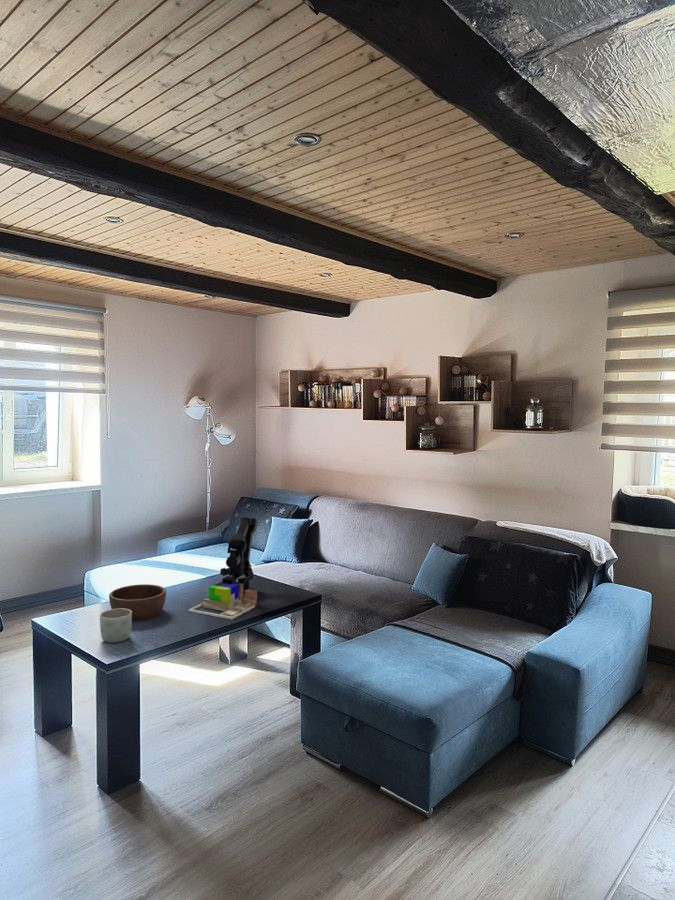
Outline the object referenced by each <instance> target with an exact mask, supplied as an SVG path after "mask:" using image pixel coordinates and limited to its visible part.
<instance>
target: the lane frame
mask: <svg viewBox="0 0 675 900" xmlns="http://www.w3.org/2000/svg"><path fill="white" fill-rule="evenodd" d="M240 604H244V603H240ZM240 604H238V605H240ZM238 605H237V606H238ZM235 607H236V606H235ZM199 608H202V607H201V603H200V604H197V605H195V606H193V607H191V608H190V609H188V613H193V614H200V615H205V616H209V615H210V616H209V617H215V618H222V619H227V620H234V619H237V618H238V617H240V616H242V615H244V614H245V613H247V612H249V611H251V610H252V609H255V608H256V605H253V606H250V607H249V608H247V609H246V610H244V611H242V612H240V613H238V614H236V615H235V616H233V617H231V616H225V615H223V613H225V612H227V611H229V610H230V609H229V610H227V611H223V612H221V613H220V614H218V613H214V612H208V611H201V610H197V609H199ZM233 608H234V607H233ZM231 609H232V608H231ZM243 613H244V614H243Z"/></svg>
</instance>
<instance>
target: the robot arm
mask: <svg viewBox="0 0 675 900" xmlns="http://www.w3.org/2000/svg"><path fill="white" fill-rule="evenodd" d="M258 526H259V520H258V519H257V518H256V517H249V516H242V517H241V518H240V523H239V525H238V528H237V530H236V533H235V534H234V535H232V537H231V538H230V539H229V541H228V547H227V550H226V551H227V552H226V553H227V554H229V556H228V557H227V558H226V560H225V564H226V566H227V568H226V567H222V568H220V571H219V574H220V575H221V576H222V577H223V578H222V579H221V582H222V583H229V584H240V583H241V584H243V593H245V590H247V589H250V590H254V589H253V587H251V580H253V579H254V576H255V575H254V571H253V568H252V565H251V562H250V559H251V558H250V557H251V556H250V555H251V552H252V551H251V550H252V543H253V535H254V534H255V532H257V528H258Z"/></svg>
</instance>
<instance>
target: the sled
mask: <svg viewBox="0 0 675 900" xmlns="http://www.w3.org/2000/svg"><path fill="white" fill-rule="evenodd" d="M240 603H243V604H245V597H244V592H243V584H241V583H240V584H239V601H237V602H235V603H233V604H231V605H229V606H227V602H222V601H216V600H210V599H209V598H203V599H202V602H201V603H200V604H201V607H200V608H206V609H211V610H217V611H223V612H225V611H227V610H229V609H231V608H233V607H235V606H237V605H238V604H240Z"/></svg>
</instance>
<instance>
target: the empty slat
mask: <svg viewBox="0 0 675 900" xmlns="http://www.w3.org/2000/svg"><path fill="white" fill-rule="evenodd" d="M244 598H245V603H243V604H240V605H238V606H236V607H234V608H232V609H230V610H229V611H227V612H225V611H224V612H225V613H223V612H222V613H223V615H225V616H231V617H233V616H235V615H236V614H238V613H240V612H242V611H244V610H246V609H247V608H249V607H251V606H253V605H255V606H257V605H258V590H256V589H252V590H250V589H247V590H245V592H244Z"/></svg>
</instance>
